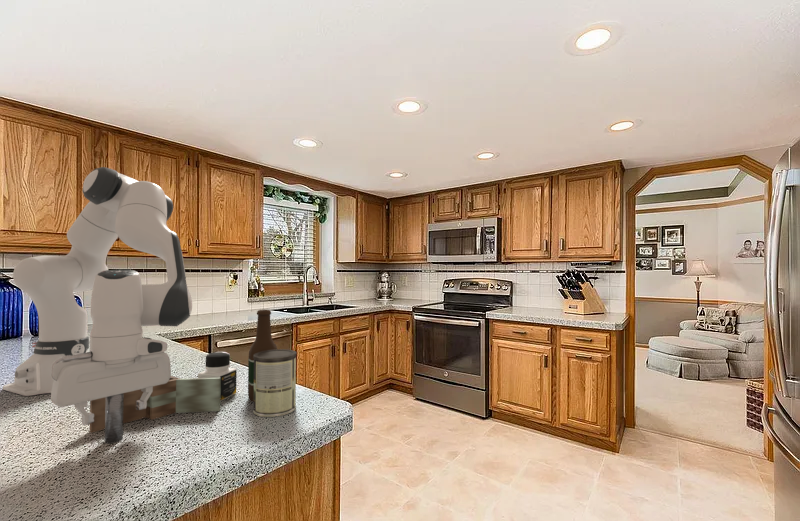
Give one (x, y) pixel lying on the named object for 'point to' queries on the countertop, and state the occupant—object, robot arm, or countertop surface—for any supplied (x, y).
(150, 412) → the stand
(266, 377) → the coffee can
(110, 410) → the hinge pin
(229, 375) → the medicine bottle
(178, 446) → the countertop surface
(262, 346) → the beer bottle
